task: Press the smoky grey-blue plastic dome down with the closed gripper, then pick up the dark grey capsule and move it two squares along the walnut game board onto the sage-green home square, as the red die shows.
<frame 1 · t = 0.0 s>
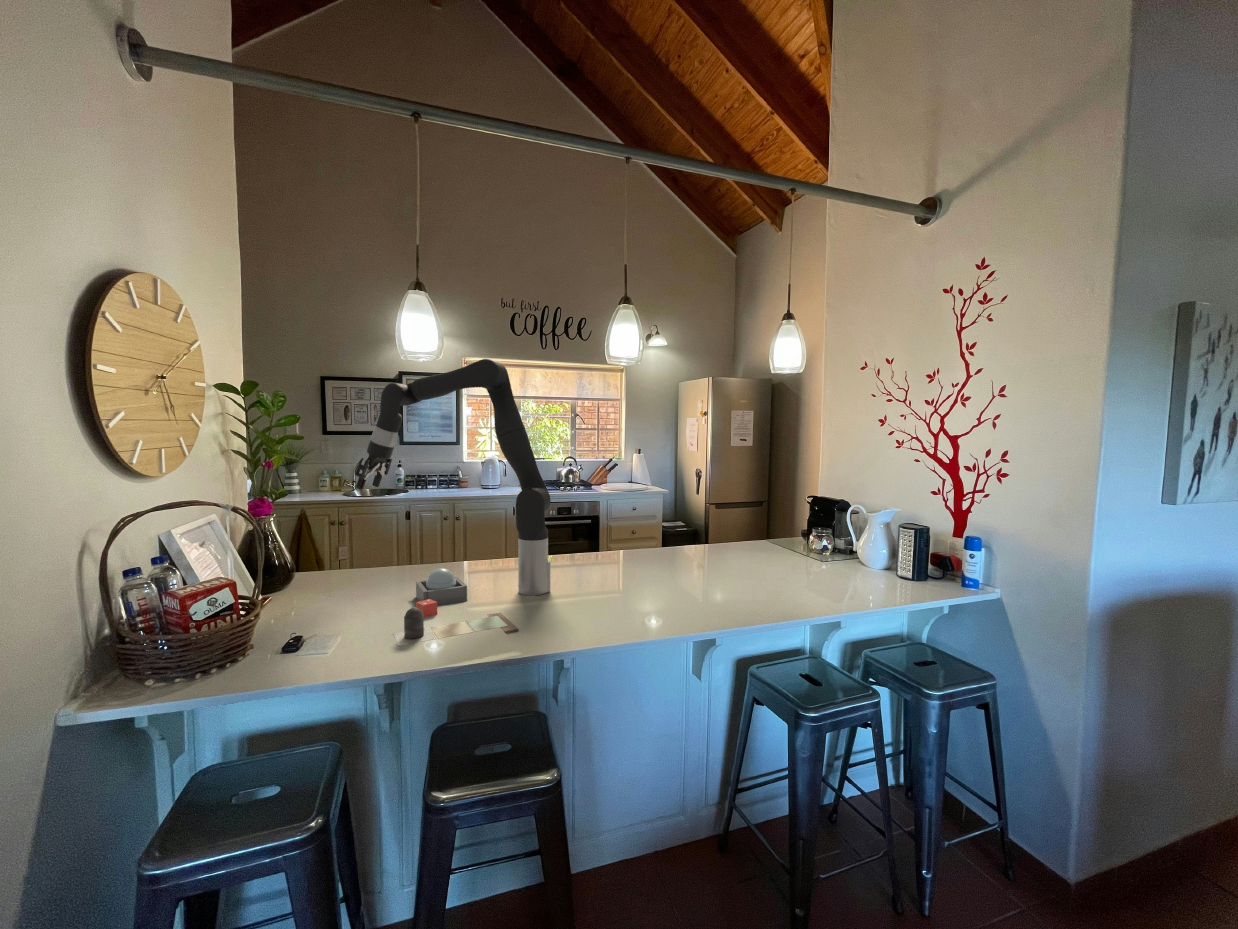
hand: (367, 487, 180), 31 cm above the countertop, tool tilted 20°, fingers open, 8 cm apart
red die: (426, 616, 148), on the countertop
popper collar: (441, 598, 164), on the countertop
dark grey capsule: (414, 636, 133), point 1 cm above the countertop, touching game board
game board: (451, 632, 137), on the countertop
dome: (441, 581, 164), point 5 cm above the countertop, slide at 0.0 cm
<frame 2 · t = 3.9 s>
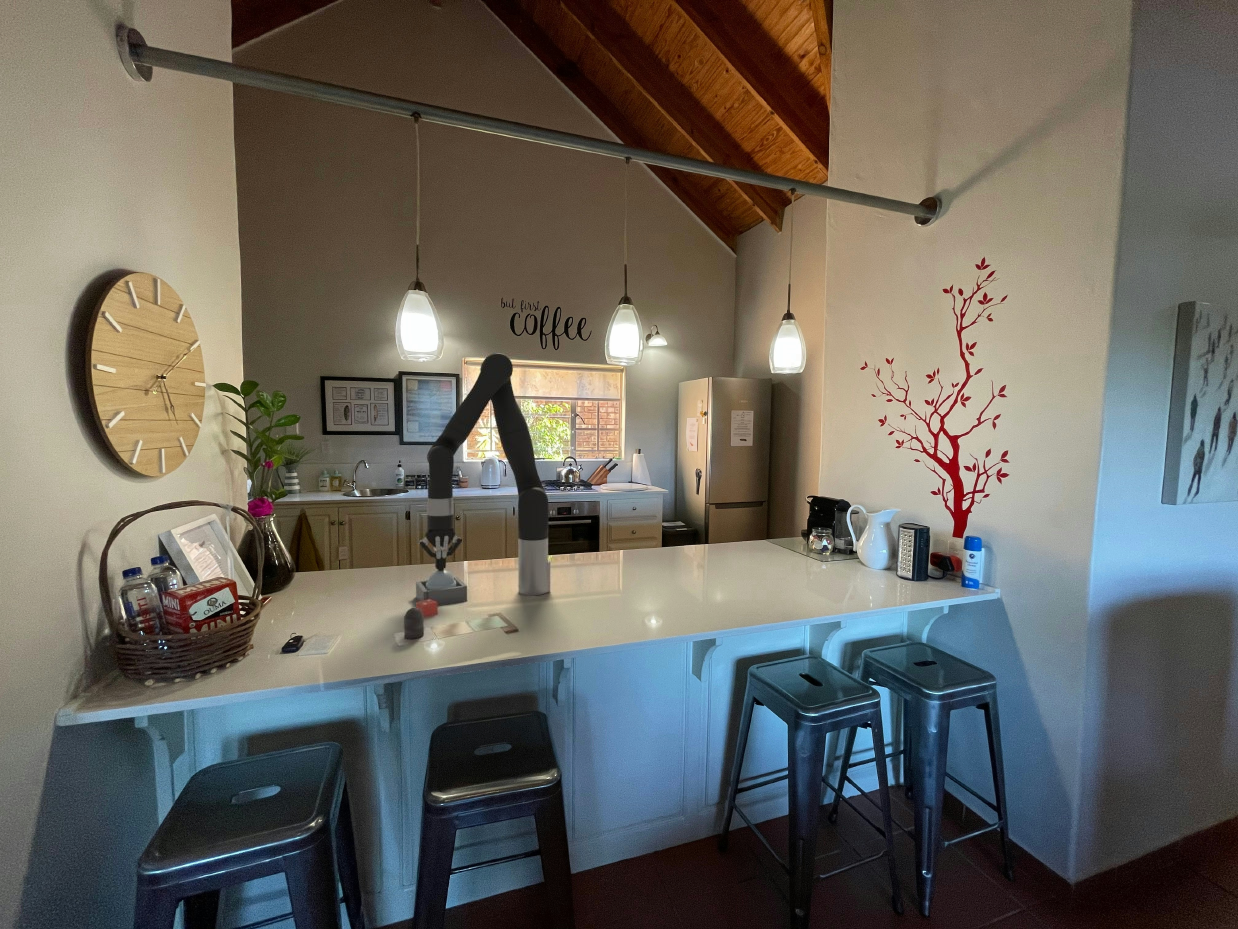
hand: (440, 570, 164), 9 cm above the countertop, tool pointing down, fingers closed
dome: (441, 582, 164), point 5 cm above the countertop, slide at 0.5 cm, touching gripper
everything else where it was.
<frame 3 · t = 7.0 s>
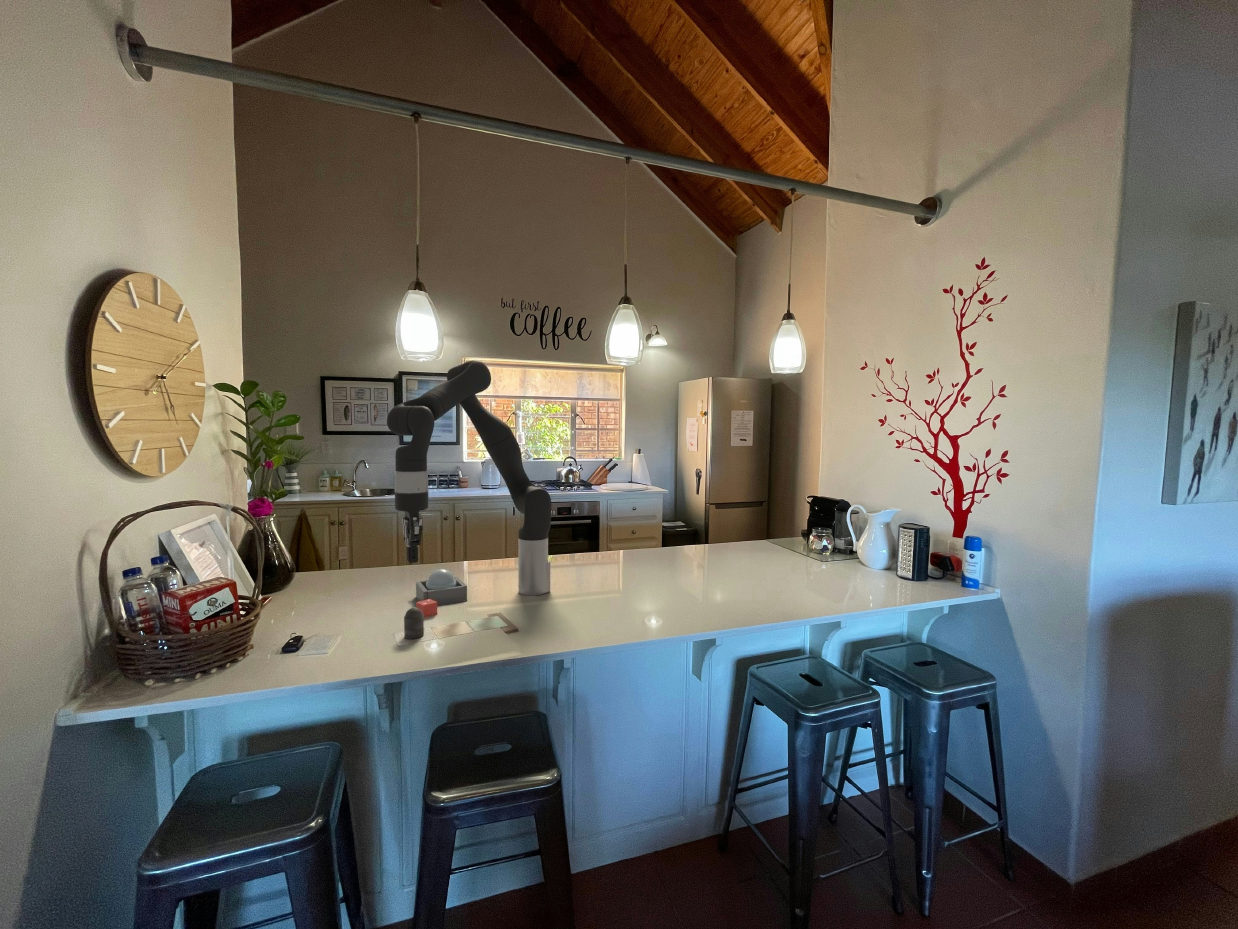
hand: (412, 561, 131), 19 cm above the countertop, tool pointing down, fingers closed
dome: (441, 581, 164), point 5 cm above the countertop, slide at 0.2 cm
everything else where it was.
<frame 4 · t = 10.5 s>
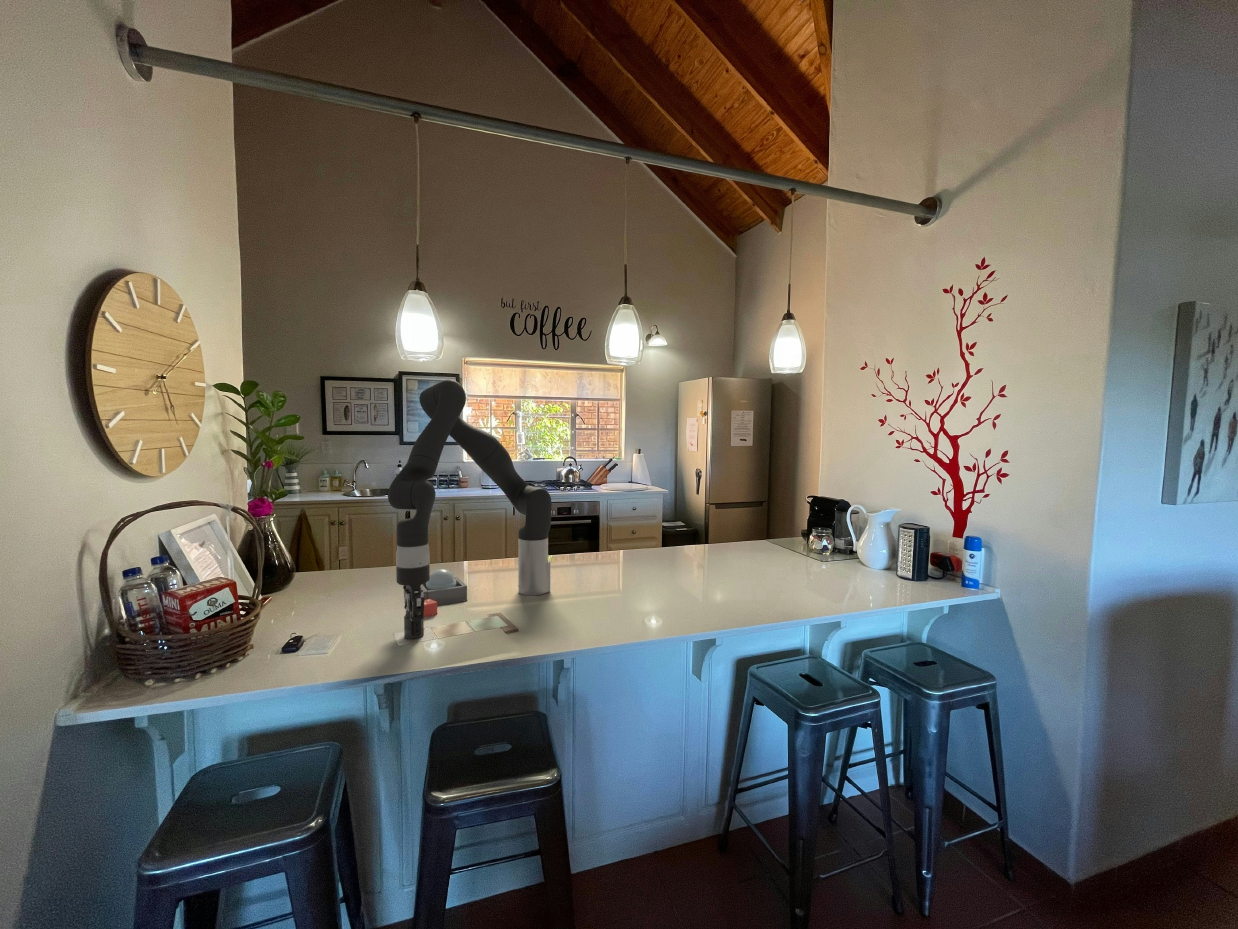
hand: (414, 631, 132), 2 cm above the countertop, tool pointing down, fingers closed on dark grey capsule, 4 cm apart
dark grey capsule: (414, 636, 132), point 1 cm above the countertop, touching game board, gripper
everything else where it was.
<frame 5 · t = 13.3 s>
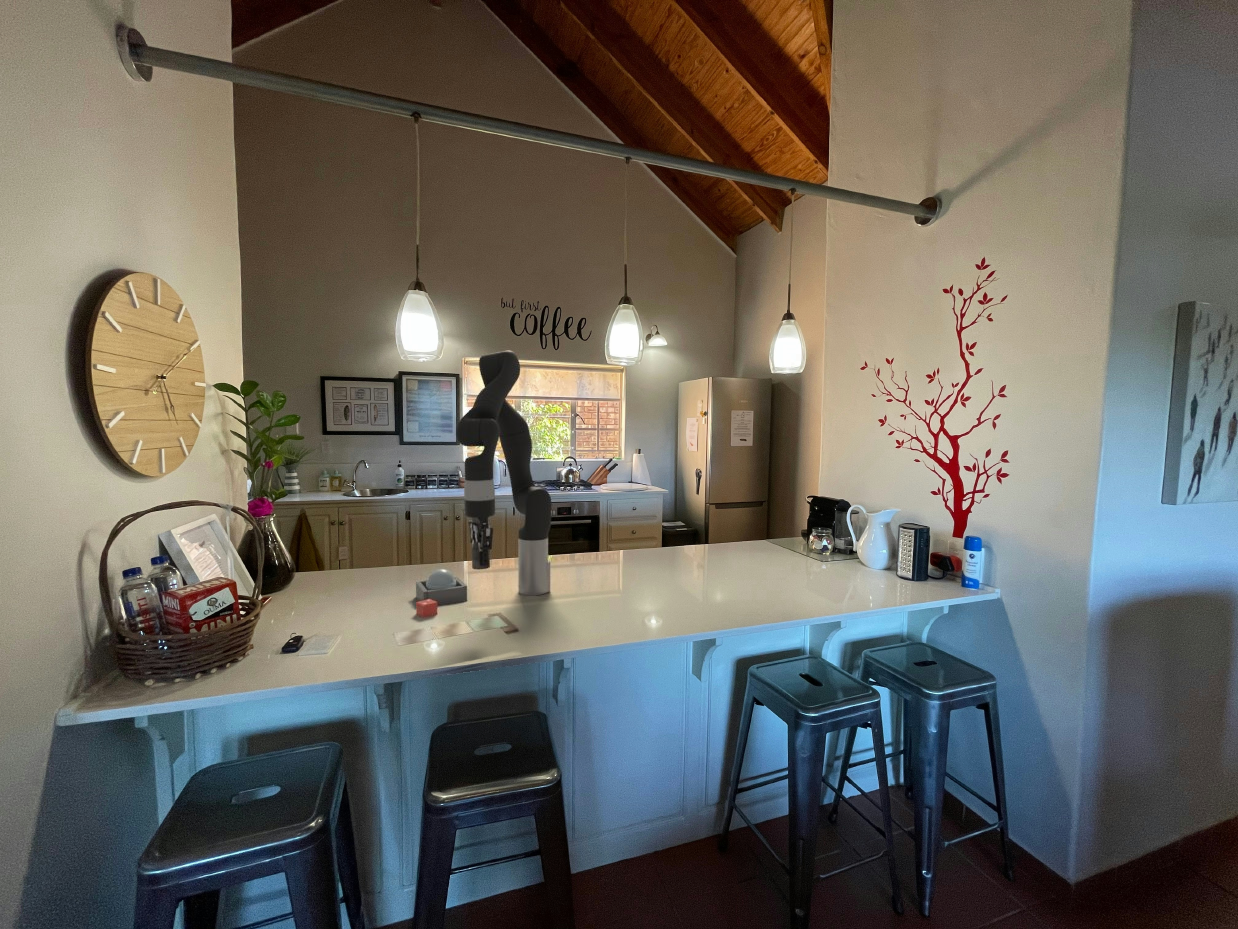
hand: (481, 563, 140), 17 cm above the countertop, tool pointing down, fingers closed on dark grey capsule, 4 cm apart
dark grey capsule: (481, 567, 140), point 16 cm above the countertop, touching gripper
everything else where it was.
when the fingers open (4 cm above the countertop, at t = 16.5 s): dark grey capsule drops 2 cm, resting on game board.
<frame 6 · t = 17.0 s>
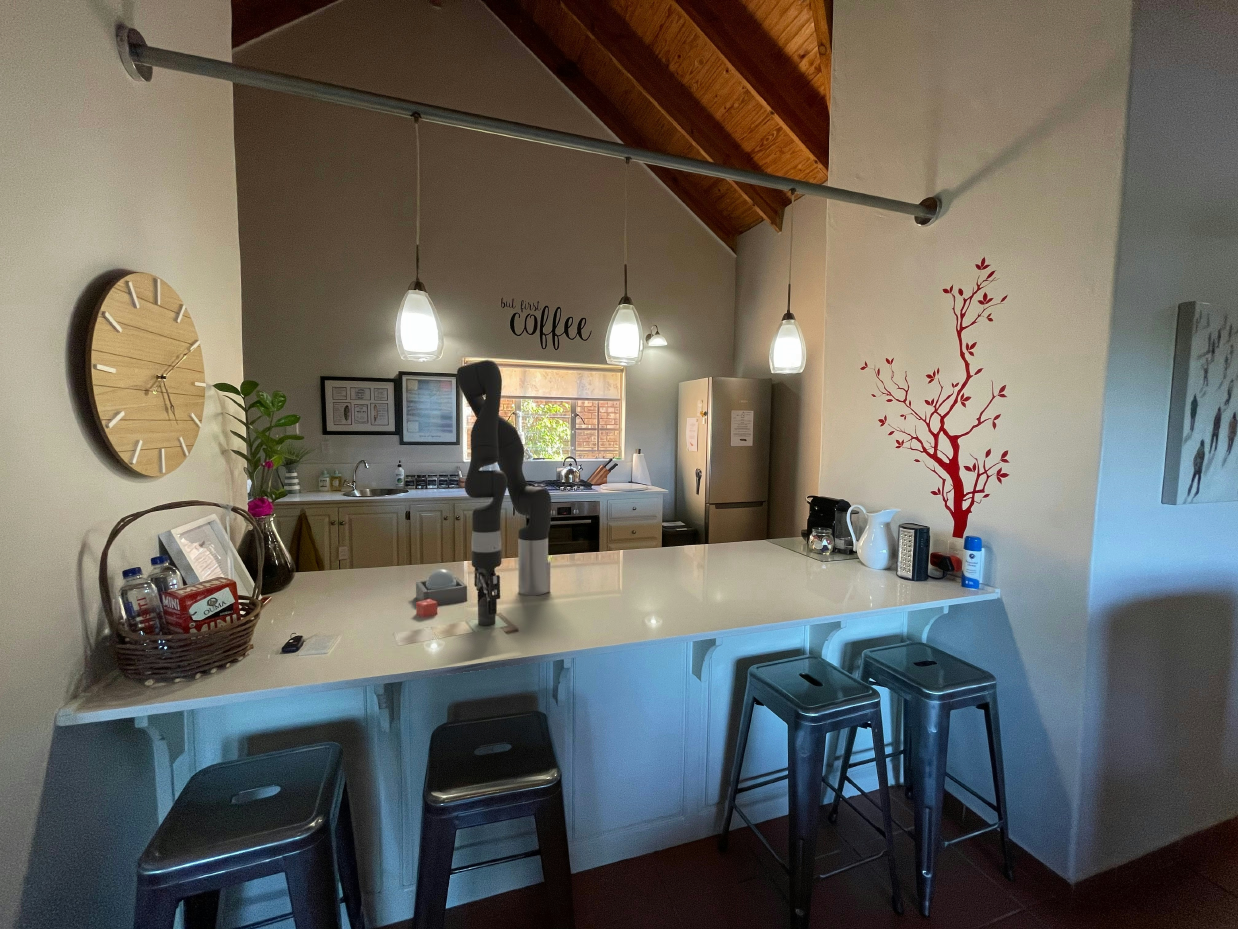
hand: (486, 609, 141), 4 cm above the countertop, tool pointing down, fingers open, 8 cm apart
dark grey capsule: (486, 623, 142), point 1 cm above the countertop, touching game board
everything else where it was.
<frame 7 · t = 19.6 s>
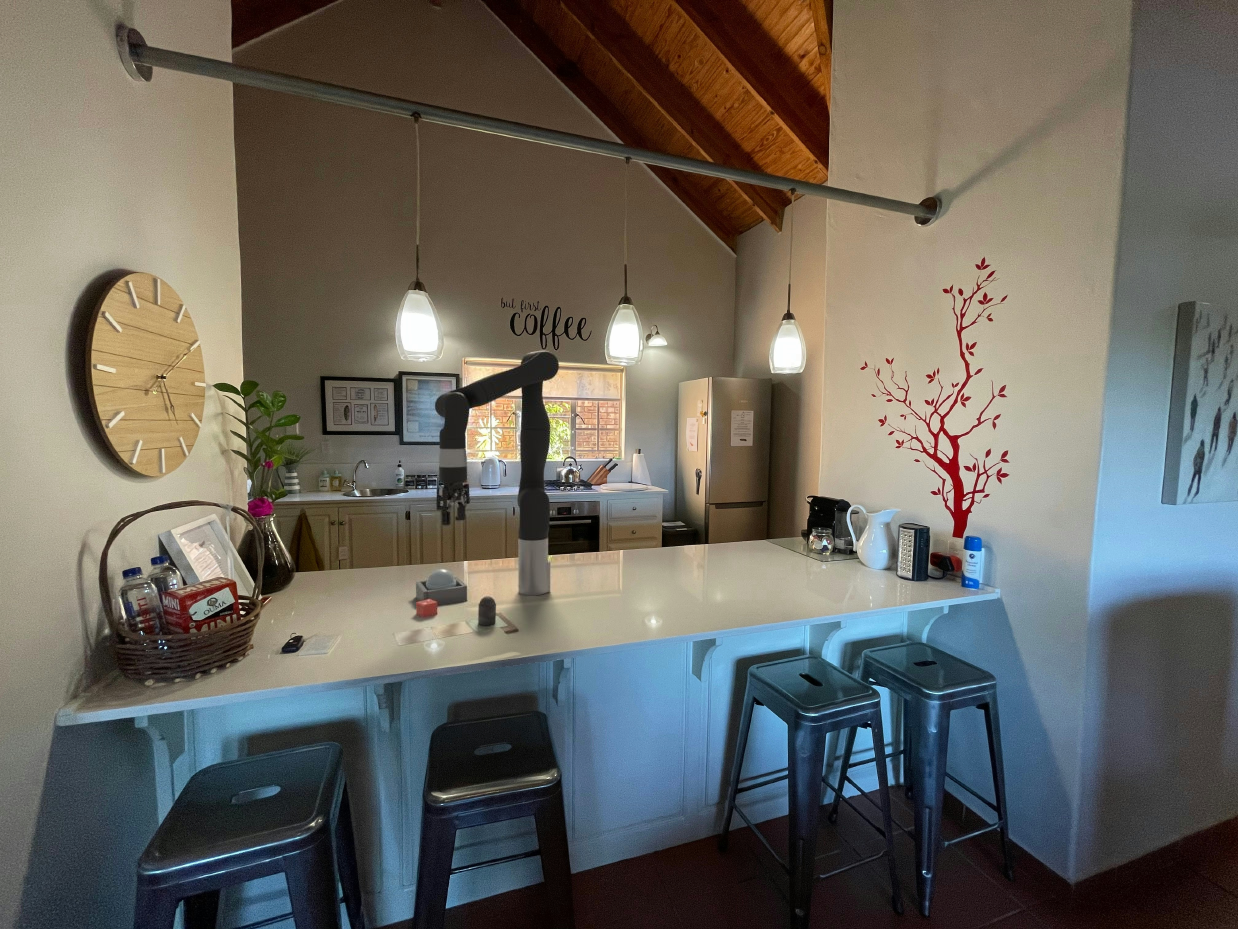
hand: (454, 522, 153), 25 cm above the countertop, tool pointing down, fingers open, 8 cm apart
nothing on the countertop moved.
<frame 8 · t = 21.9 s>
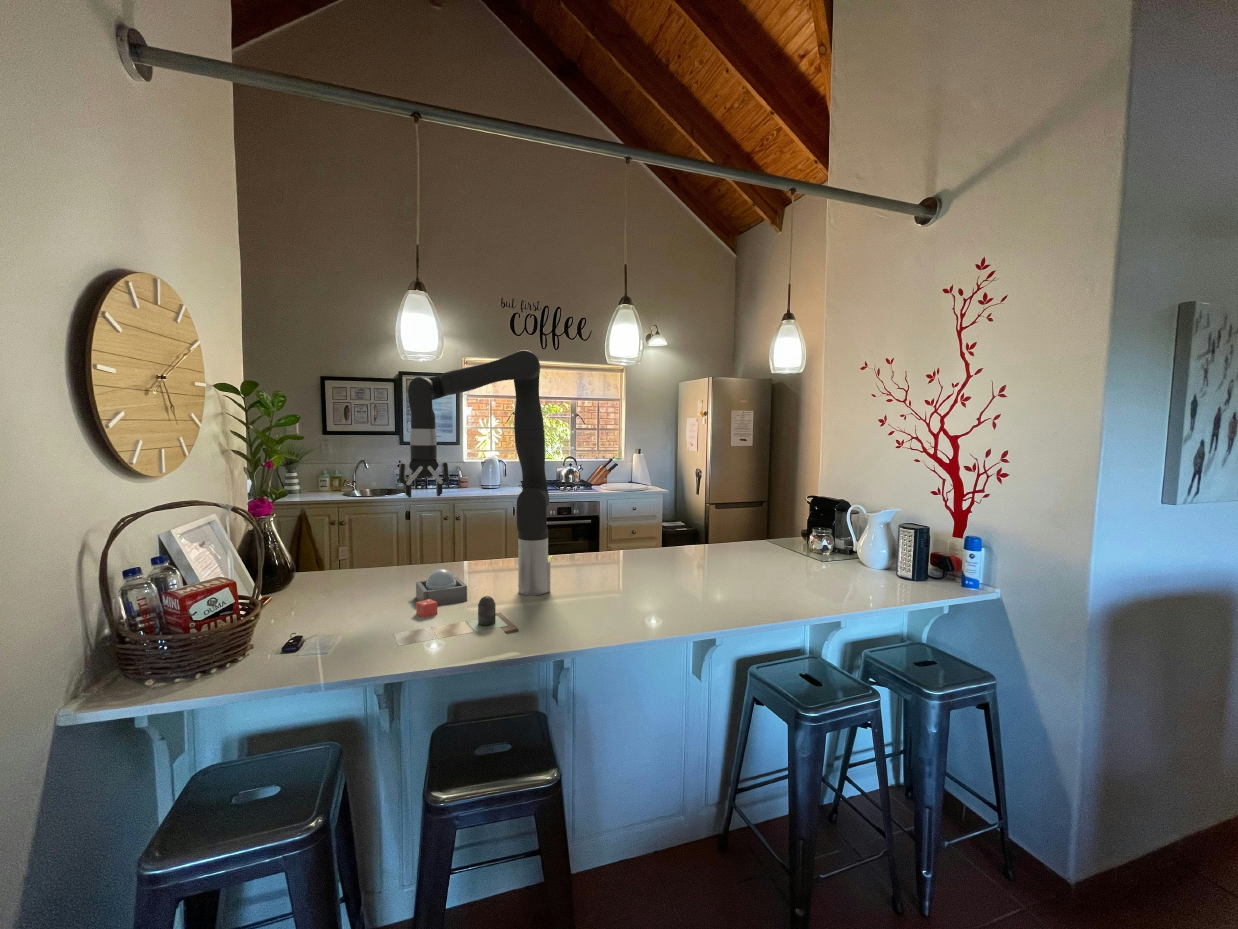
hand: (424, 496, 167), 30 cm above the countertop, tool pointing down, fingers open, 8 cm apart
nothing on the countertop moved.
at the end: dark grey capsule inside the target area (0.0 cm from its centre), point 0.9 cm above the countertop; dark grey capsule tilted 2°; the gripper is holding nothing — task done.
